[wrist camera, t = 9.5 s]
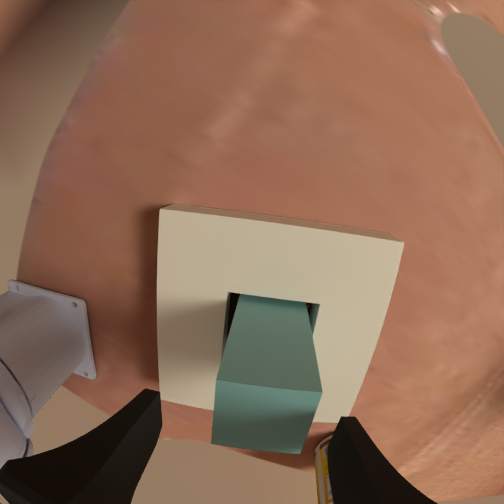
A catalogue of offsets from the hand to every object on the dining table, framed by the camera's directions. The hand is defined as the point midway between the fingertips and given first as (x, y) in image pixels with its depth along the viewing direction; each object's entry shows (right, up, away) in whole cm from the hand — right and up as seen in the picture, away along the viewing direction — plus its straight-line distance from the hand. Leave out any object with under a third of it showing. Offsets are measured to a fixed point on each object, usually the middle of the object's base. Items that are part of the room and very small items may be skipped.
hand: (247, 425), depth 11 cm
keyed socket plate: (+1, +2, +10) cm, 10 cm away
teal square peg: (+1, +2, +10) cm, 10 cm away
